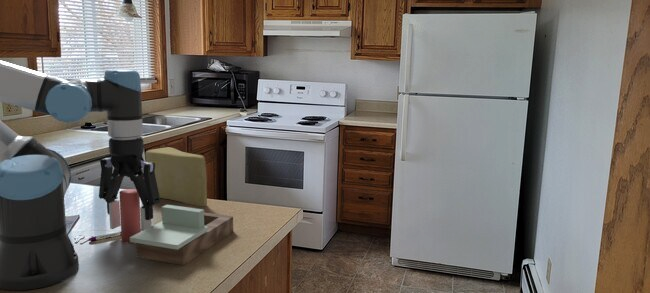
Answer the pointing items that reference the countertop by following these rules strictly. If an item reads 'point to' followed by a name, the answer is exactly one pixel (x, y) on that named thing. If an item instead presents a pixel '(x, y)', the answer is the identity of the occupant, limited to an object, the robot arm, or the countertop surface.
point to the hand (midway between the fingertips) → (130, 229)
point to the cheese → (179, 175)
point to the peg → (129, 214)
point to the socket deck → (216, 231)
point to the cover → (173, 228)
